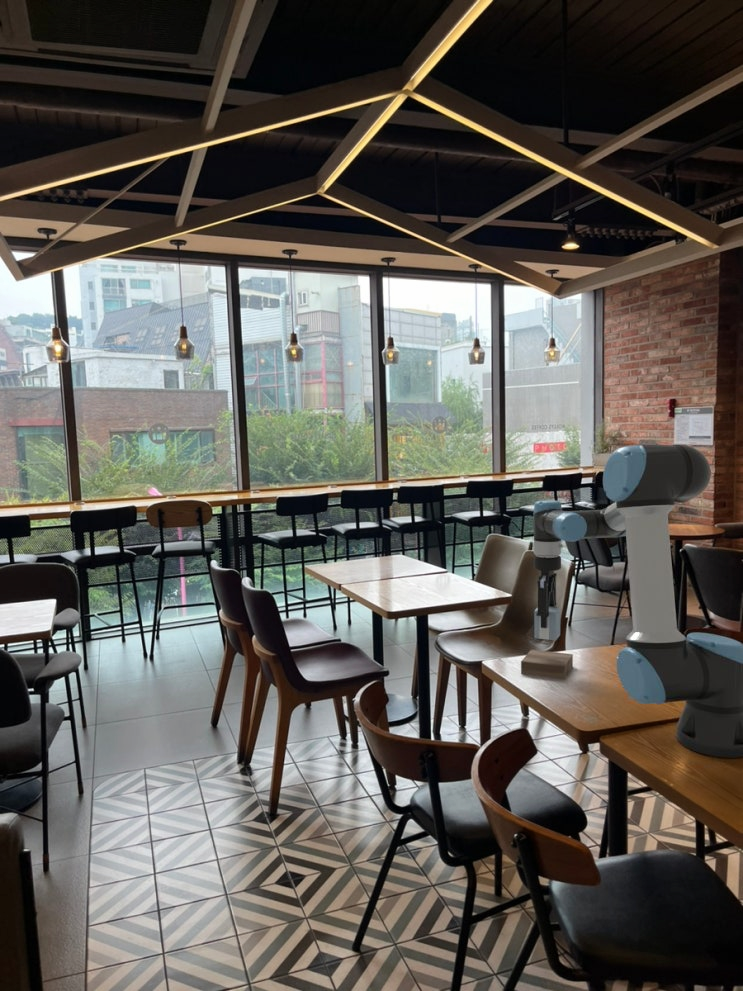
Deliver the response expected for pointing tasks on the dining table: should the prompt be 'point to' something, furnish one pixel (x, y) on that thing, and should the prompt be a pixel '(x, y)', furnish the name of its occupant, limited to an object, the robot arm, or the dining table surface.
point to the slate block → (554, 623)
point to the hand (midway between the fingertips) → (547, 635)
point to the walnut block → (547, 664)
